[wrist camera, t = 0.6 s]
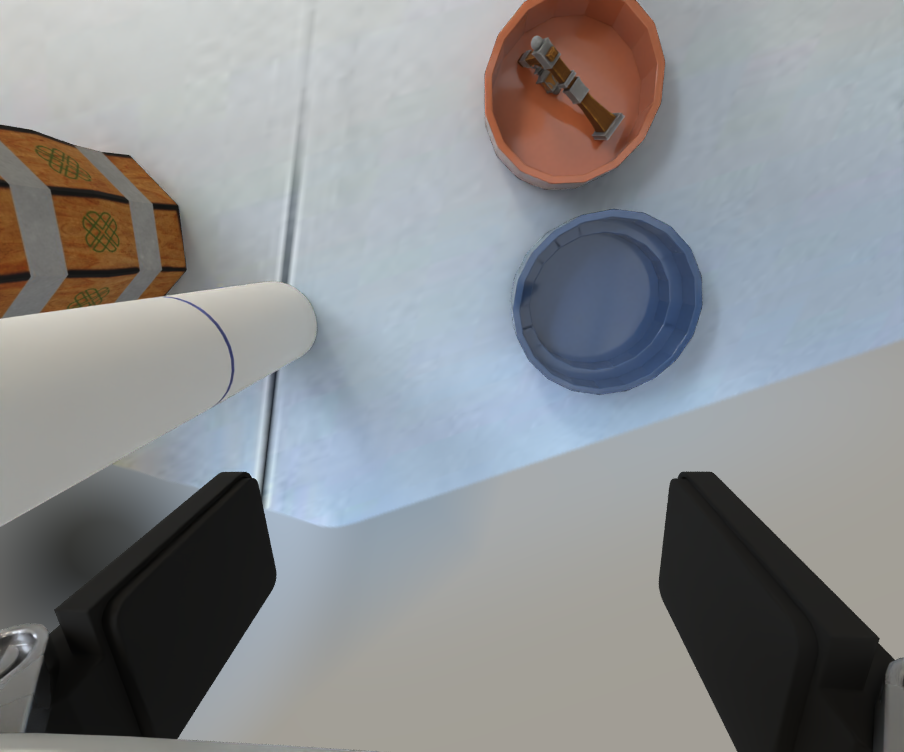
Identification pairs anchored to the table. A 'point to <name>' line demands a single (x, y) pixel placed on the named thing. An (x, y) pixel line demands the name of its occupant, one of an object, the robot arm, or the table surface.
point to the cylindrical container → (130, 377)
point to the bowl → (606, 301)
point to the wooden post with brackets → (568, 85)
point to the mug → (80, 227)
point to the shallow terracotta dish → (555, 116)
